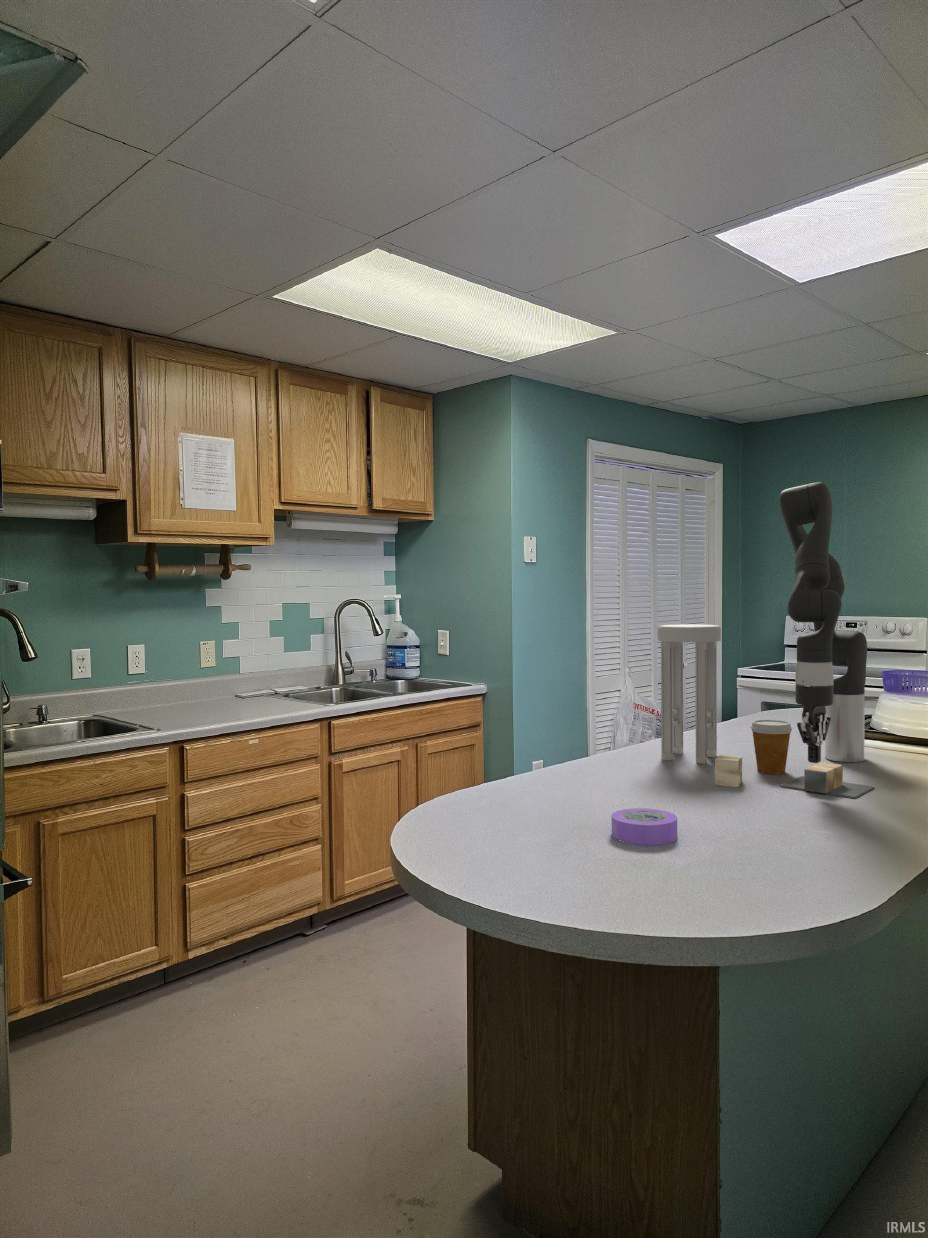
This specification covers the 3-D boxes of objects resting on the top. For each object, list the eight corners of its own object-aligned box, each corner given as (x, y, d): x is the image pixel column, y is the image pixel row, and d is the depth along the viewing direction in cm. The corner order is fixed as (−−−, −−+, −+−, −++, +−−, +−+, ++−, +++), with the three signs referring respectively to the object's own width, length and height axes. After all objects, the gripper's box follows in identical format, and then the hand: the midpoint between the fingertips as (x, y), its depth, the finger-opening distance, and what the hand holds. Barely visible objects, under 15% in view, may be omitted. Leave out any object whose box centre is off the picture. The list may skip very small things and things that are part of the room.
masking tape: (599, 831, 152) (599, 811, 152) (653, 824, 156) (653, 804, 156) (634, 850, 141) (634, 828, 141) (690, 841, 145) (690, 820, 145)
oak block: (804, 789, 178) (822, 781, 186) (825, 793, 175) (842, 784, 182) (804, 769, 178) (822, 762, 185) (825, 772, 175) (842, 765, 182)
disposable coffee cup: (785, 767, 203) (785, 719, 202) (797, 776, 193) (797, 725, 193) (746, 767, 204) (746, 719, 203) (756, 775, 194) (755, 725, 194)
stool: (726, 755, 218) (726, 624, 217) (710, 766, 205) (710, 627, 204) (669, 750, 226) (669, 624, 225) (651, 760, 213) (650, 626, 212)
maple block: (719, 780, 190) (719, 754, 190) (742, 782, 188) (742, 756, 188) (715, 785, 186) (715, 758, 186) (737, 787, 183) (737, 760, 183)
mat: (801, 777, 192) (801, 775, 192) (874, 788, 180) (874, 786, 180) (780, 786, 183) (780, 785, 183) (855, 798, 172) (855, 796, 172)
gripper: (808, 678, 183) (808, 755, 184) (784, 684, 174) (784, 765, 174) (843, 680, 178) (843, 759, 179) (820, 686, 168) (820, 770, 169)
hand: (814, 762), depth 176 cm, fingers closed
